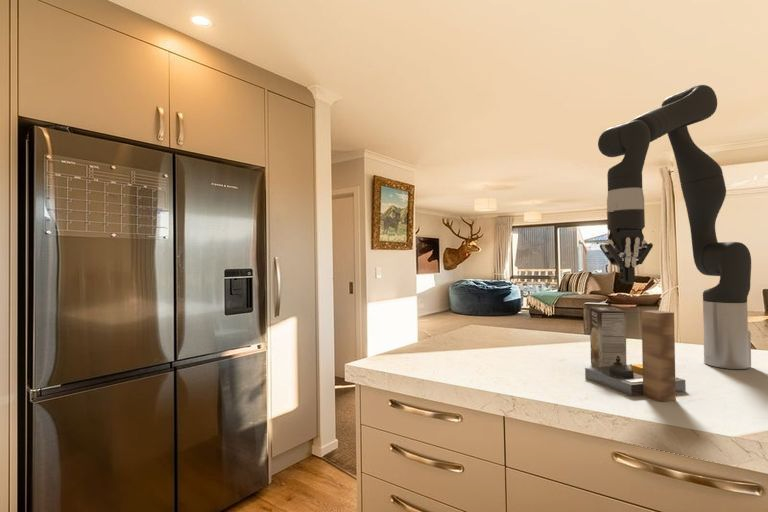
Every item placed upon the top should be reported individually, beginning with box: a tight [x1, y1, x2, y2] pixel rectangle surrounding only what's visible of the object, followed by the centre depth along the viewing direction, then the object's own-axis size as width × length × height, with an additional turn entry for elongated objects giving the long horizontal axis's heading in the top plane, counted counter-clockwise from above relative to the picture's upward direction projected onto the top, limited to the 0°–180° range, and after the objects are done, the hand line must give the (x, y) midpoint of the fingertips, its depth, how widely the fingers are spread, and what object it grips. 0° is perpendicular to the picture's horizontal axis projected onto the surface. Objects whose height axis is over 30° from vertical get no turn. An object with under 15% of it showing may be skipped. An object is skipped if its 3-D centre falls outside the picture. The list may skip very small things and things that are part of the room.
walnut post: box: [641, 309, 677, 403], centre depth 85 cm, size 4×4×18 cm
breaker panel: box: [584, 363, 687, 398], centre depth 94 cm, size 14×14×4 cm
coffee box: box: [589, 306, 627, 367], centre depth 107 cm, size 9×6×16 cm
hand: (627, 283), depth 95 cm, fingers closed
